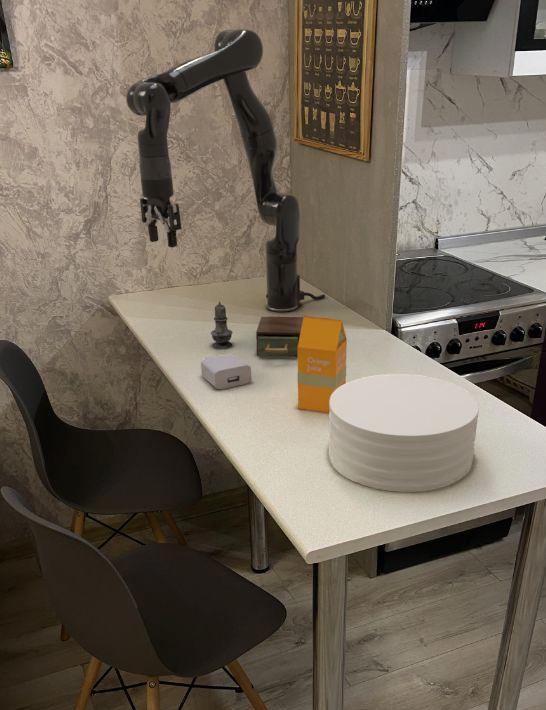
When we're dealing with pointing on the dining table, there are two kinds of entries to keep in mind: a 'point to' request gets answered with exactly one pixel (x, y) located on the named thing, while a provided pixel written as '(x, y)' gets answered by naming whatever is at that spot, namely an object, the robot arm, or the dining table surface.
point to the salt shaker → (221, 328)
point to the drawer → (278, 345)
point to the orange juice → (320, 362)
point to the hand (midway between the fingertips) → (163, 244)
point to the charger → (225, 371)
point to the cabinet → (279, 326)
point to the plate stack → (402, 432)
